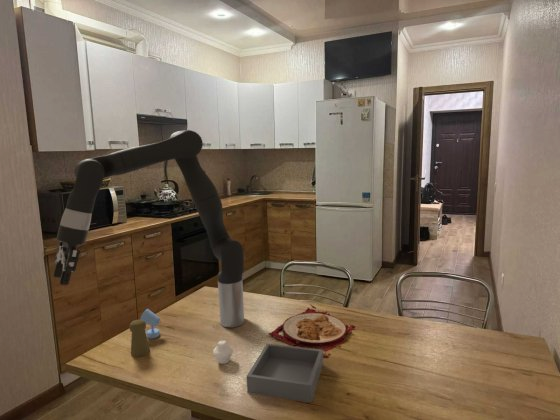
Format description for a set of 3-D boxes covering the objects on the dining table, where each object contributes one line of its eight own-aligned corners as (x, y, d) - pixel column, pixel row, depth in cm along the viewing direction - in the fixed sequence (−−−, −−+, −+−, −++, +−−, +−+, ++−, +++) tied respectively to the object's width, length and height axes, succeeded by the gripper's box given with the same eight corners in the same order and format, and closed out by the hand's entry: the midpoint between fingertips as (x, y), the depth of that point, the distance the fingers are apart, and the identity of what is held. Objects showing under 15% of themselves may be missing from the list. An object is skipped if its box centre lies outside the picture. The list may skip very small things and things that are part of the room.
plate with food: (266, 338, 136) (266, 329, 135) (308, 310, 156) (308, 302, 156) (325, 361, 121) (325, 351, 120) (363, 327, 141) (363, 318, 140)
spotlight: (139, 337, 138) (157, 339, 136) (137, 311, 136) (154, 313, 135) (147, 331, 142) (164, 332, 141) (144, 306, 141) (161, 307, 139)
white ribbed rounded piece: (233, 365, 118) (232, 344, 117) (213, 368, 117) (212, 346, 116) (232, 355, 124) (231, 335, 123) (213, 357, 123) (212, 337, 122)
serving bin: (267, 357, 122) (266, 343, 121) (323, 365, 117) (322, 349, 116) (247, 392, 105) (246, 376, 104) (311, 402, 100) (311, 385, 99)
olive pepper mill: (143, 357, 125) (140, 325, 123) (127, 355, 126) (123, 324, 124) (153, 347, 130) (150, 317, 129) (137, 346, 132) (134, 316, 130)
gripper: (95, 232, 108) (80, 288, 107) (82, 224, 119) (68, 275, 118) (66, 227, 103) (50, 286, 102) (55, 220, 114) (41, 273, 113)
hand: (60, 280), depth 110 cm, fingers open, 8 cm apart
